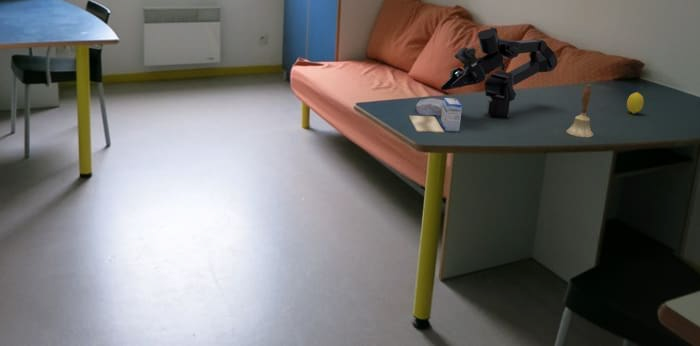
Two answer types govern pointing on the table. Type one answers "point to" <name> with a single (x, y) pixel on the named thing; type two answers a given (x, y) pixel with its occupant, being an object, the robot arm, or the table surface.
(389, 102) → the table surface
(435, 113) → the stone block
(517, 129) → the table surface
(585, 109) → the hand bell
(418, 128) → the cork pad
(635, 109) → the lemon
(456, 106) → the medicine box
